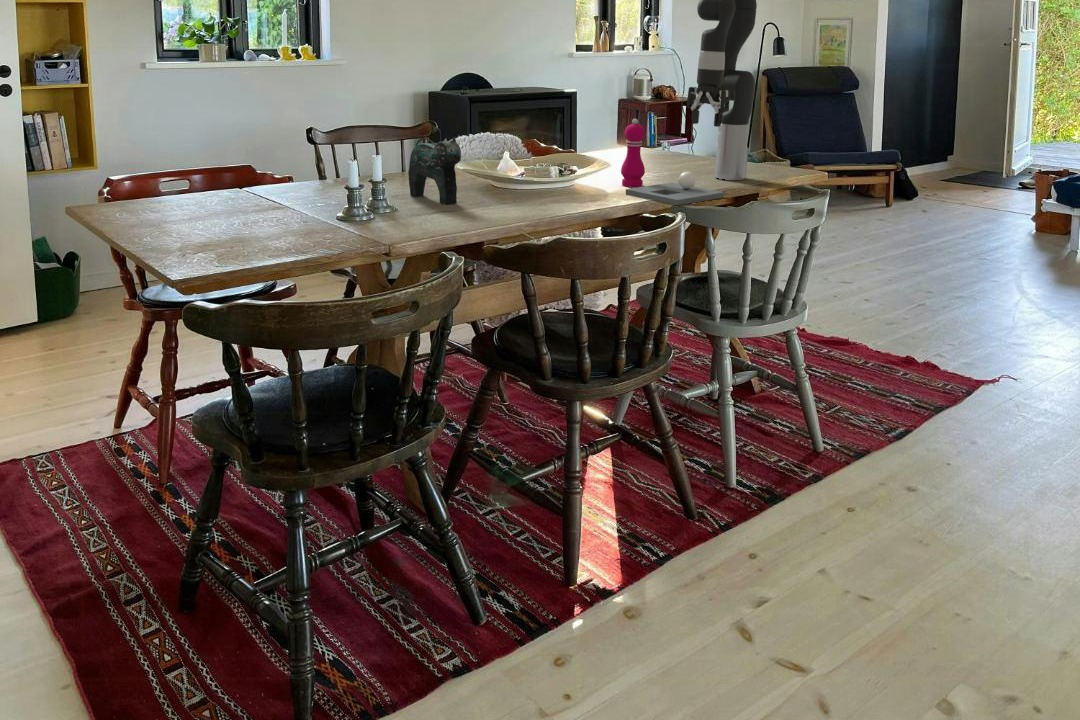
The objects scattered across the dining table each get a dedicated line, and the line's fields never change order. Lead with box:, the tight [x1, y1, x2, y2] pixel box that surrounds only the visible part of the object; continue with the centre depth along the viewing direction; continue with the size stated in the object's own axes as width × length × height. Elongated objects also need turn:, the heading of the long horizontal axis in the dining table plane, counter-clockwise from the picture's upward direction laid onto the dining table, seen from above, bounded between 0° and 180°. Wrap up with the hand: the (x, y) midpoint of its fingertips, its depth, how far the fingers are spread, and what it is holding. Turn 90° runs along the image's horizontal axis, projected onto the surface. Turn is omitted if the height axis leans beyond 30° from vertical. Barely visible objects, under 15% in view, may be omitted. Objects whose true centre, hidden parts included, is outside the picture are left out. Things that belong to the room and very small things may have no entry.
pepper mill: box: [620, 118, 646, 188], centre depth 318 cm, size 7×7×20 cm
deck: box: [625, 181, 725, 206], centre depth 307 cm, size 20×20×2 cm
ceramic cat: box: [407, 127, 462, 206], centre depth 292 cm, size 20×6×20 cm, turn 41°
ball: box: [677, 171, 697, 189], centre depth 309 cm, size 5×5×5 cm
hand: (705, 125), depth 311 cm, fingers open, 8 cm apart
